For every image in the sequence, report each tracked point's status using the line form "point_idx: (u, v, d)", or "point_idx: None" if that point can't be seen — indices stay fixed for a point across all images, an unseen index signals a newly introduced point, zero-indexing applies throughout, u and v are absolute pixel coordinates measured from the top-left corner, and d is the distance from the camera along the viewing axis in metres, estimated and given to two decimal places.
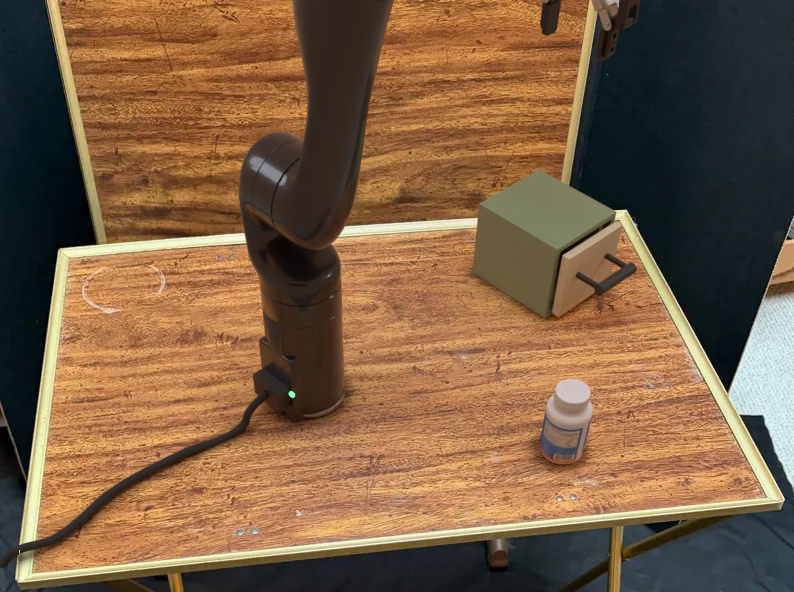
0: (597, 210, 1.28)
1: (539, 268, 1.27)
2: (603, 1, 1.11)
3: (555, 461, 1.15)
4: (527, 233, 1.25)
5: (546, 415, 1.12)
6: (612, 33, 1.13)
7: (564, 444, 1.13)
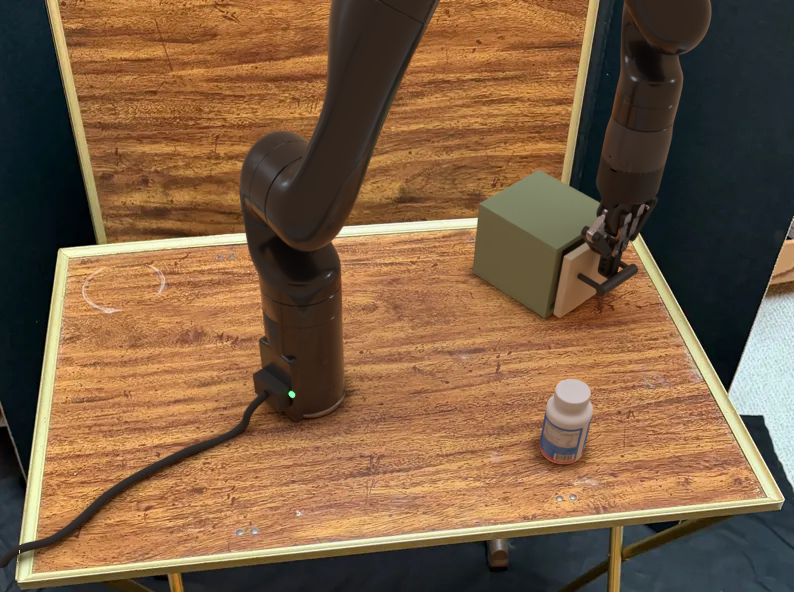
0: None
1: (539, 268, 1.27)
2: None
3: (555, 461, 1.15)
4: (527, 233, 1.25)
5: (546, 415, 1.12)
6: None
7: (564, 444, 1.13)
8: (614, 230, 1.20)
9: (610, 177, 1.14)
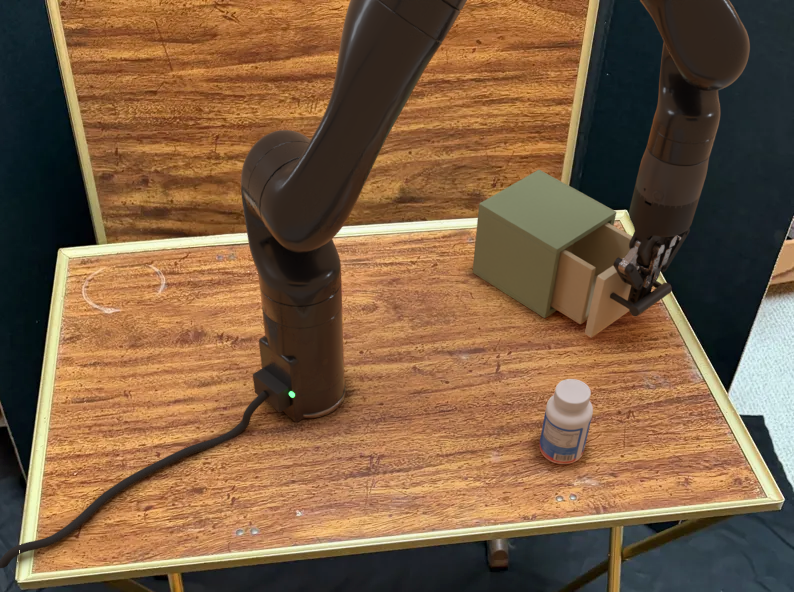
0: (597, 210, 1.28)
1: (539, 268, 1.27)
2: None
3: (555, 461, 1.15)
4: (527, 233, 1.25)
5: (546, 415, 1.12)
6: (632, 285, 1.24)
7: (564, 444, 1.13)
8: (646, 261, 1.19)
9: (644, 209, 1.13)
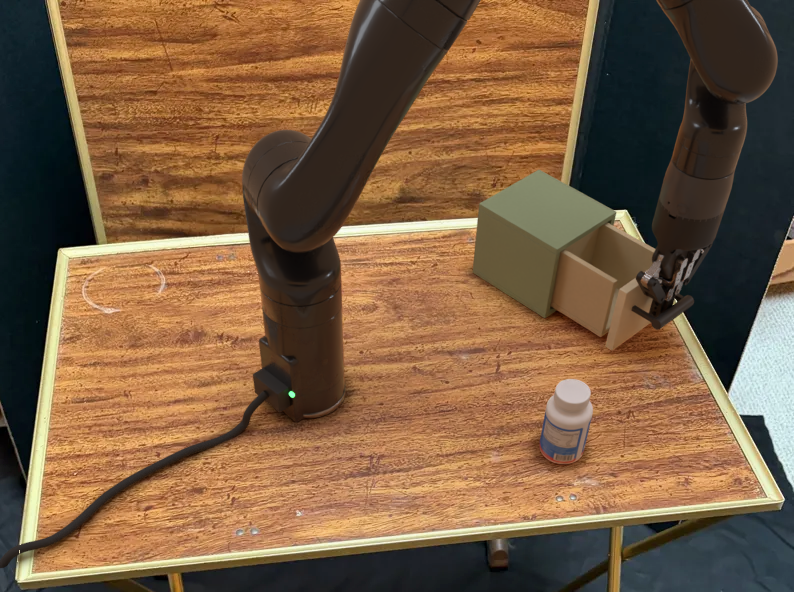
0: (597, 210, 1.28)
1: (539, 268, 1.27)
2: None
3: (555, 461, 1.15)
4: (527, 233, 1.25)
5: (546, 415, 1.12)
6: (654, 298, 1.22)
7: (564, 444, 1.13)
8: (669, 275, 1.17)
9: (668, 223, 1.11)
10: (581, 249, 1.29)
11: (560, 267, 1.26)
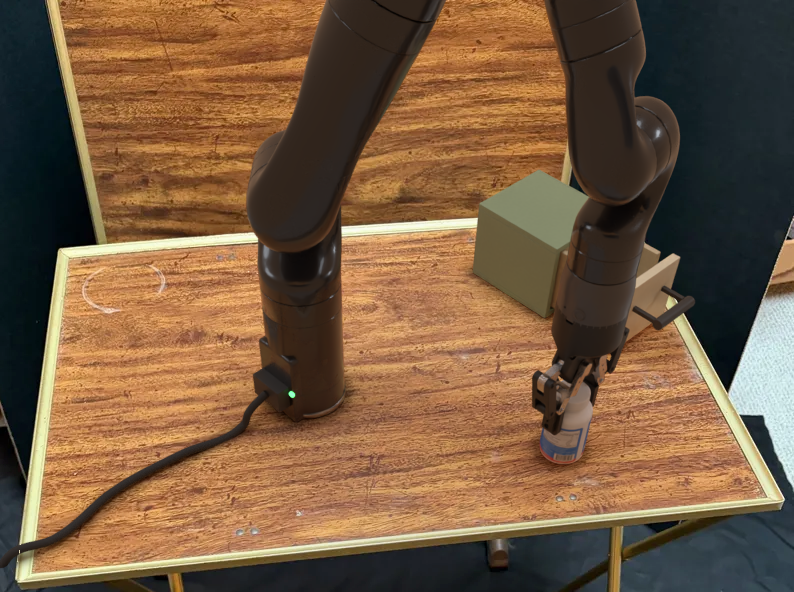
0: None
1: (539, 268, 1.27)
2: None
3: (555, 461, 1.15)
4: (527, 233, 1.25)
5: None
6: None
7: (564, 444, 1.13)
8: (572, 381, 1.05)
9: (565, 328, 0.99)
10: None
11: (561, 268, 1.26)
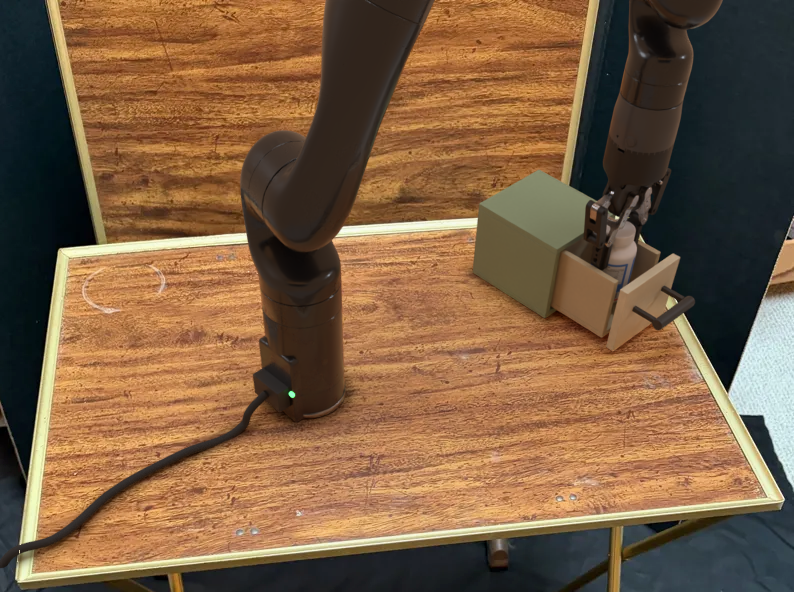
0: None
1: (539, 268, 1.27)
2: None
3: None
4: (527, 233, 1.25)
5: None
6: None
7: None
8: (620, 213, 1.17)
9: (617, 157, 1.11)
10: (582, 249, 1.29)
11: (561, 268, 1.26)
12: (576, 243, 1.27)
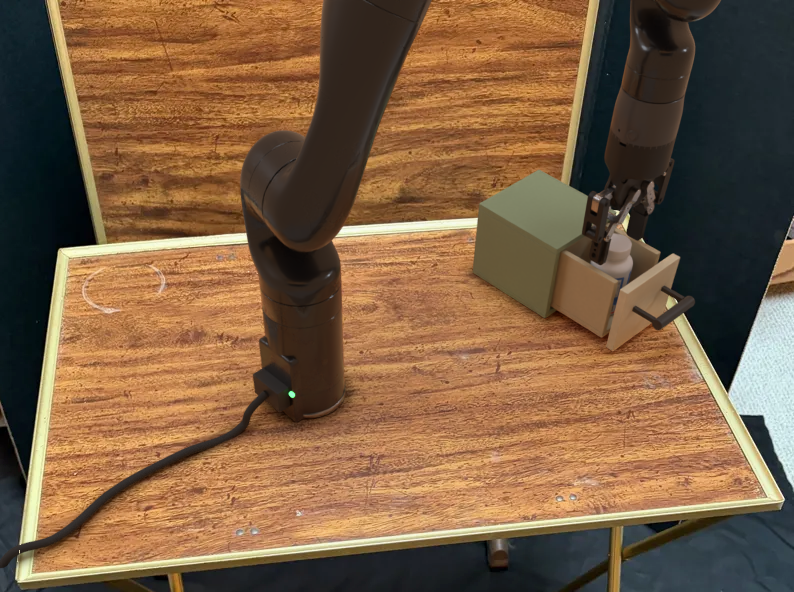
0: None
1: (539, 268, 1.27)
2: None
3: None
4: (527, 233, 1.25)
5: None
6: None
7: None
8: (622, 207, 1.17)
9: (619, 151, 1.11)
10: (582, 249, 1.29)
11: (561, 268, 1.26)
12: (576, 243, 1.27)
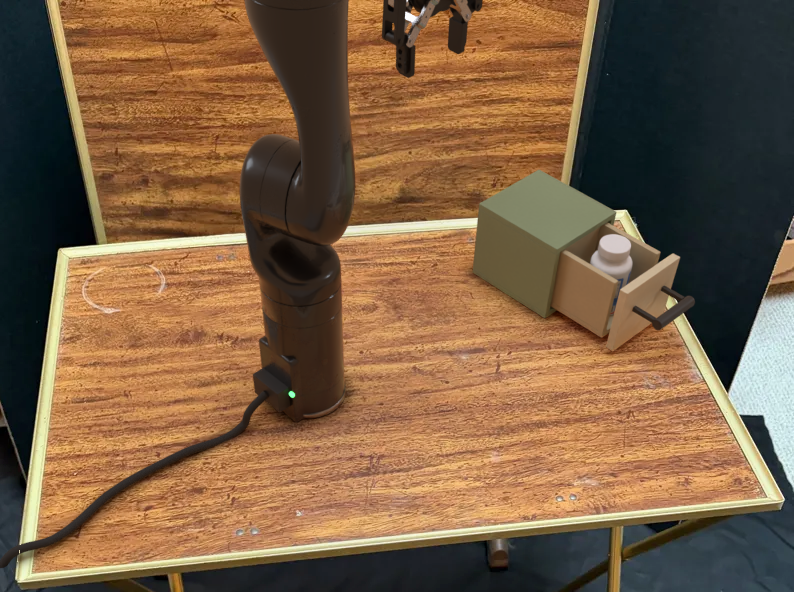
0: (597, 210, 1.28)
1: (539, 268, 1.27)
2: None
3: None
4: (527, 233, 1.25)
5: None
6: (397, 46, 1.13)
7: None
8: None
9: None
10: (582, 249, 1.29)
11: (561, 268, 1.26)
12: (576, 243, 1.27)
